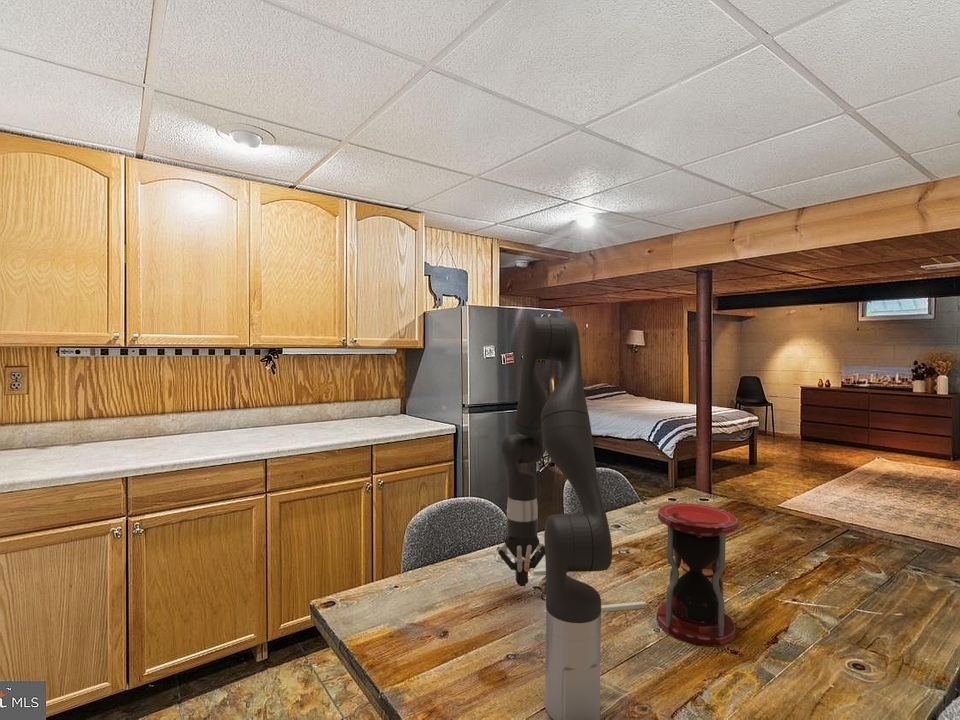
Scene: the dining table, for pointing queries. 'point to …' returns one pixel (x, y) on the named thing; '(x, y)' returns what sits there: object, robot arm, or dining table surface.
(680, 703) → the dining table surface
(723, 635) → the hourglass
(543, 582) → the mineral rock
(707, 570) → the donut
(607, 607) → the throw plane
